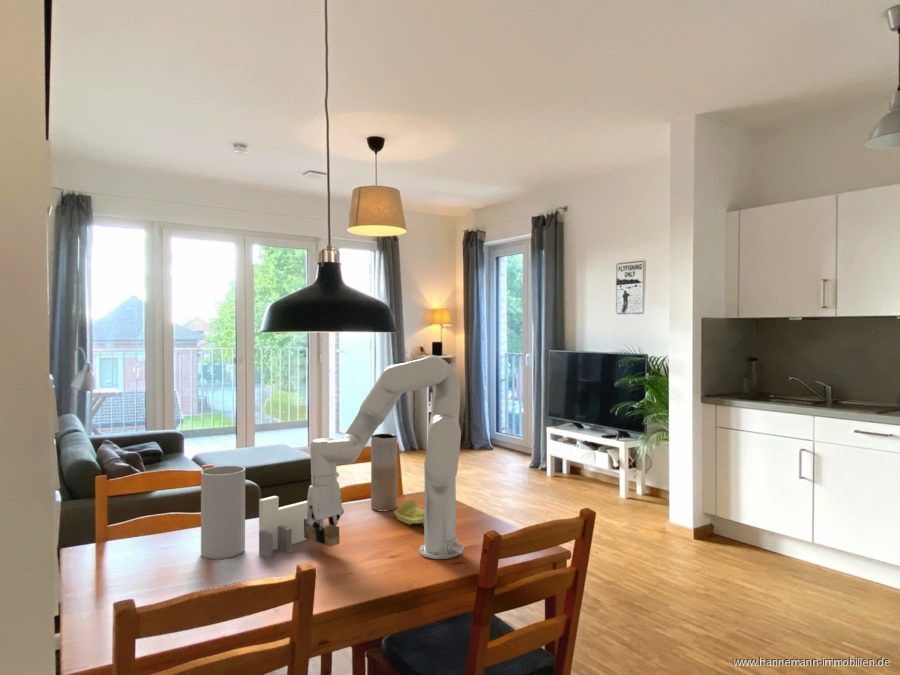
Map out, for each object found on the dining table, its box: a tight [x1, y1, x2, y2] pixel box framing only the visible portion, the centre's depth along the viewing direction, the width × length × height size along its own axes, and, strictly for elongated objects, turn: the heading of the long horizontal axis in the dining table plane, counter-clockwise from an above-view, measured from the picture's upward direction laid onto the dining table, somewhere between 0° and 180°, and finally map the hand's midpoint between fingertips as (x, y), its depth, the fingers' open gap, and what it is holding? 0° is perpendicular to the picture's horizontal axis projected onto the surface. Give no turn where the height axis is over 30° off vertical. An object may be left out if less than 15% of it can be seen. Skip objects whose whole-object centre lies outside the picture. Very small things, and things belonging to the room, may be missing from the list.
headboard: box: [258, 495, 308, 559], centre depth 183 cm, size 7×23×16 cm, turn 140°
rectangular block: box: [304, 518, 341, 548], centre depth 177 cm, size 13×4×6 cm, turn 50°
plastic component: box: [394, 499, 424, 527], centre depth 205 cm, size 20×7×10 cm
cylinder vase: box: [200, 465, 246, 560], centre depth 177 cm, size 12×12×25 cm
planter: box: [370, 433, 398, 512], centre depth 224 cm, size 10×10×28 cm
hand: (326, 539), depth 176 cm, fingers closed on rectangular block, 3 cm apart
